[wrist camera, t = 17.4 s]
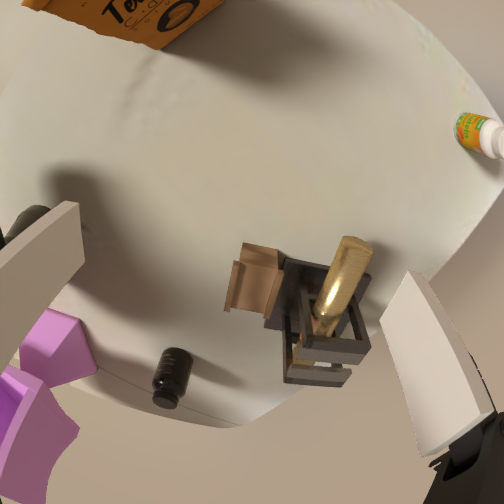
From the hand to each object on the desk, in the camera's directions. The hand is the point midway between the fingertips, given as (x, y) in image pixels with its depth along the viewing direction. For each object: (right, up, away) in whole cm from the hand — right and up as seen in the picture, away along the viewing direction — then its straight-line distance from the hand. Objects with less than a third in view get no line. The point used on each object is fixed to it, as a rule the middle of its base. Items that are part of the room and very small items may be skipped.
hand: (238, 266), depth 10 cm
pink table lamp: (-49, -21, +47) cm, 71 cm away
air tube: (+10, -9, +27) cm, 30 cm away
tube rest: (+1, -2, +32) cm, 32 cm away
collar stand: (+11, -7, +35) cm, 37 cm away
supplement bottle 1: (-15, -21, +45) cm, 52 cm away
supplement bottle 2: (+31, +18, +18) cm, 41 cm away
